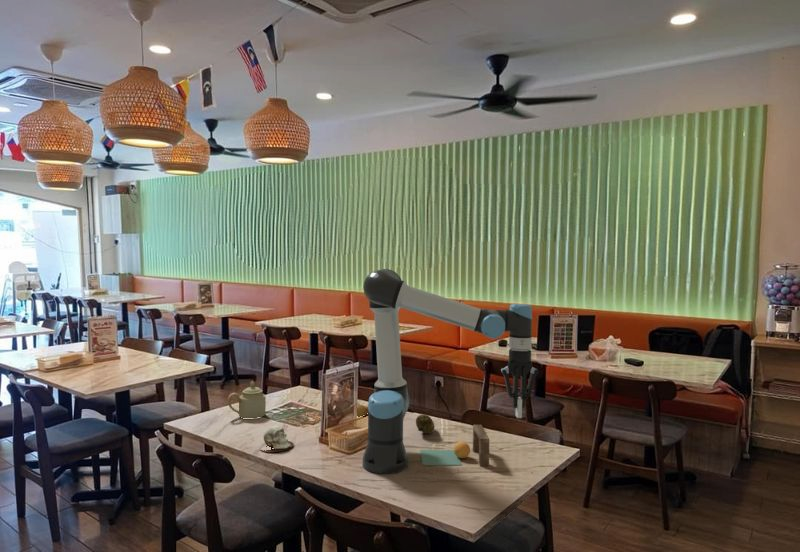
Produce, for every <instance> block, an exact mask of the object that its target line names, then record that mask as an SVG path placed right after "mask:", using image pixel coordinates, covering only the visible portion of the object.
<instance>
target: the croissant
mask: <svg viewBox="0 0 800 552" xmlns="http://www.w3.org/2000/svg"><path fill="white" fill-rule="evenodd" d="M356 403H357V416H358V417H360V416H363V415H366V414H367V413H368V405H362V404H360V403H358V402H356ZM367 415H368V414H367ZM367 415H366V416H367Z"/></svg>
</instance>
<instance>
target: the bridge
mask: <svg viewBox="0 0 800 552" xmlns="http://www.w3.org/2000/svg"><path fill="white" fill-rule="evenodd" d="M472 451H473V453H478V464H479V467H489V466H490V437H489V435H488V433H487V432H486V430H485V429H484V427H483V425H482V424H473V425H472Z"/></svg>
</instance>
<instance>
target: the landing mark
mask: <svg viewBox="0 0 800 552" xmlns="http://www.w3.org/2000/svg"><path fill="white" fill-rule="evenodd" d="M419 453H420V456H421V457H420V459H421V463H422V466H463V464H462V462H461V458H459V457H457V456H456V455H455V453H454V449H420V450H419Z"/></svg>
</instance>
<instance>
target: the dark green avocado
mask: <svg viewBox="0 0 800 552" xmlns="http://www.w3.org/2000/svg"><path fill="white" fill-rule="evenodd" d="M415 425H416V428H417V430H418V431H419V432H422V433H425V434H431V433H433V432H434V430H435V427H436V426H435V422H434V420H433V419H432V417H430V416H429V415H427V414H419V415H418V416H417V417H416V419H415Z"/></svg>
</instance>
